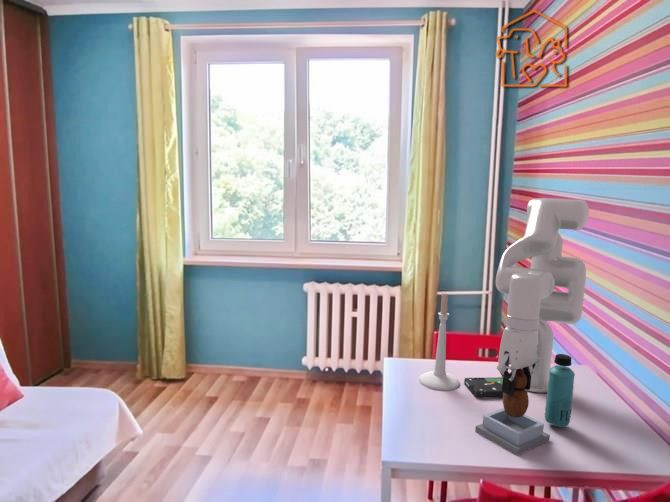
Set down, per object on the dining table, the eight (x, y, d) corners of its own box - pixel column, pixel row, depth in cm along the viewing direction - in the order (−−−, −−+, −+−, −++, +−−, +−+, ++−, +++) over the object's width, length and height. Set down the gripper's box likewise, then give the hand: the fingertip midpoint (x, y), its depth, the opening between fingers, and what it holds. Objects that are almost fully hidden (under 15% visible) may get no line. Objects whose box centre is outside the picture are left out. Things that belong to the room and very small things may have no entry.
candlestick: (457, 375, 168) (463, 288, 163) (461, 392, 156) (468, 298, 151) (418, 372, 170) (423, 286, 165) (419, 388, 158) (425, 295, 153)
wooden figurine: (498, 407, 133) (503, 353, 131) (520, 408, 133) (526, 354, 131) (506, 420, 126) (511, 363, 124) (529, 421, 126) (535, 364, 124)
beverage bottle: (558, 434, 132) (566, 362, 129) (537, 422, 138) (544, 353, 135) (575, 429, 135) (583, 358, 132) (554, 418, 141) (561, 349, 138)
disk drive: (475, 400, 152) (522, 398, 154) (476, 391, 151) (523, 390, 153) (463, 385, 162) (507, 384, 164) (463, 377, 162) (508, 376, 163)
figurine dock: (506, 418, 140) (508, 403, 139) (549, 440, 129) (551, 424, 128) (475, 431, 132) (476, 415, 132) (517, 455, 122) (518, 437, 121)
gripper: (530, 314, 134) (524, 378, 137) (487, 323, 124) (481, 392, 127) (556, 321, 127) (549, 389, 130) (513, 332, 118) (506, 404, 121)
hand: (516, 390), depth 129 cm, fingers closed on wooden figurine, 5 cm apart
